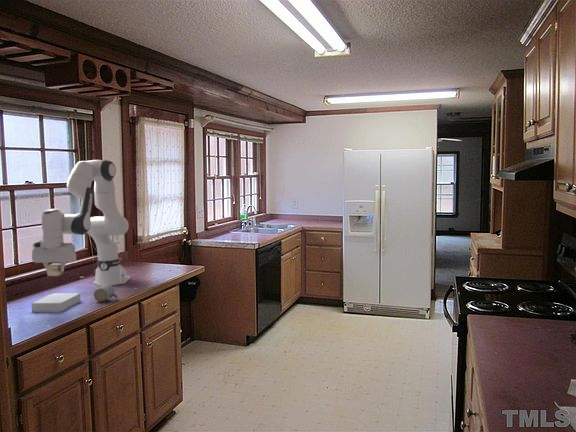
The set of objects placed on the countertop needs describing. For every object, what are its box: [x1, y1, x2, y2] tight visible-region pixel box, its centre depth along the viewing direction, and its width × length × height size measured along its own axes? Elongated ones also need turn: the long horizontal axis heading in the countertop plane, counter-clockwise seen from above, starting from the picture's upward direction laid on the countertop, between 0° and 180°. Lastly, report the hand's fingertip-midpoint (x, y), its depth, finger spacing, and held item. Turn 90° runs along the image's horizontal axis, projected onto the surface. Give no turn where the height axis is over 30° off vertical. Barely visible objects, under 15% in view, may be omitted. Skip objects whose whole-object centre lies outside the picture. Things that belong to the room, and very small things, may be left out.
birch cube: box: [46, 263, 64, 277], centre depth 228 cm, size 5×5×5 cm
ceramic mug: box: [93, 284, 119, 303], centre depth 238 cm, size 11×8×8 cm
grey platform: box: [31, 292, 82, 313], centre depth 229 cm, size 18×14×4 cm
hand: (55, 271), depth 228 cm, fingers closed on birch cube, 5 cm apart
